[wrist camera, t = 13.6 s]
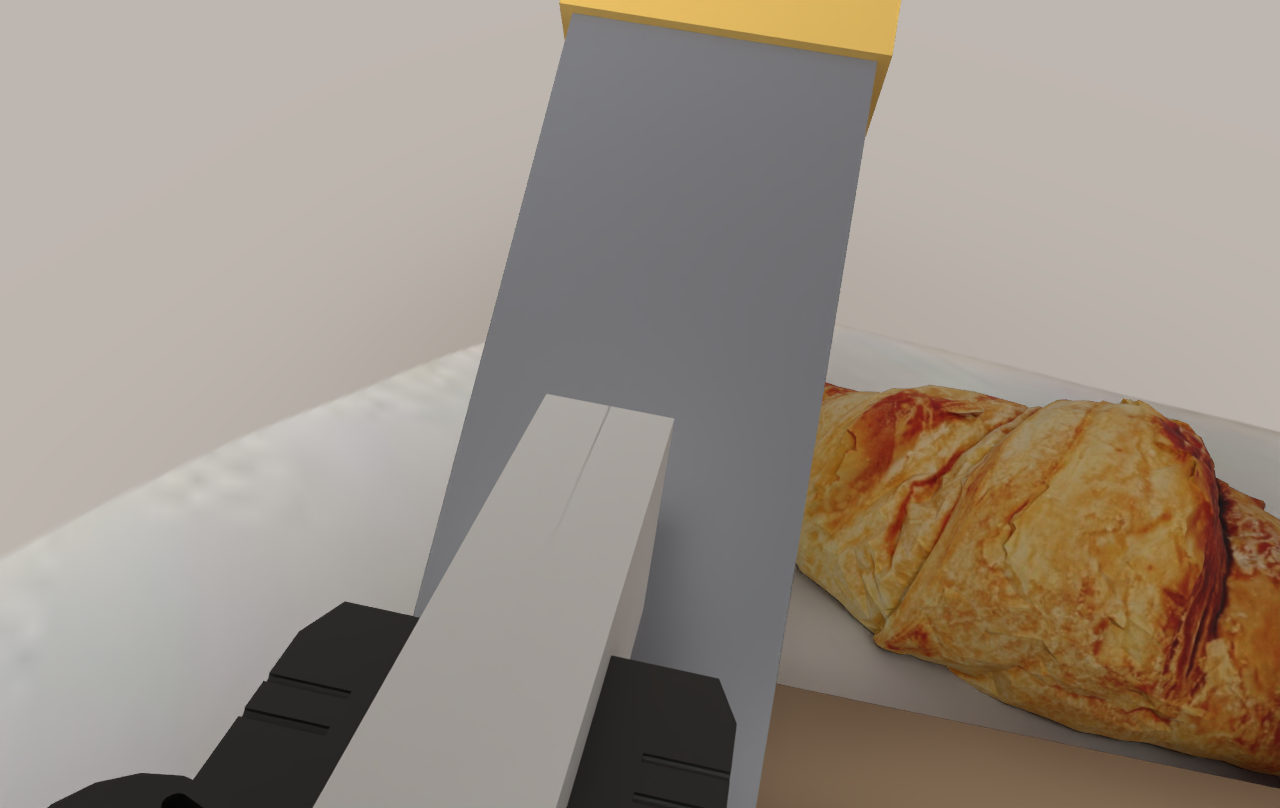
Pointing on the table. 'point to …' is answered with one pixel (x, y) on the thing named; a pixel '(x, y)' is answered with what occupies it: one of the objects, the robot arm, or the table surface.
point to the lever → (689, 299)
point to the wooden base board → (959, 765)
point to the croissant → (1055, 562)
